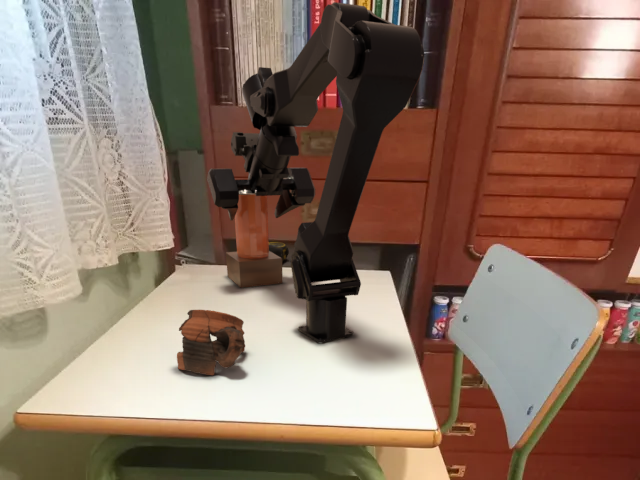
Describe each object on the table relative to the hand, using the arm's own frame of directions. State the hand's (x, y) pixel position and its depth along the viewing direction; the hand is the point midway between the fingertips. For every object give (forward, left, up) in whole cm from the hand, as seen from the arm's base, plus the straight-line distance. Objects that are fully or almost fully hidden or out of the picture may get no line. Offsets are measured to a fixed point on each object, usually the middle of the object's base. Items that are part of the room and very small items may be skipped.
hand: (253, 217), depth 93 cm
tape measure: (+13, -11, -13) cm, 21 cm away
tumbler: (+1, 0, -7) cm, 8 cm away
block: (+1, 0, -12) cm, 12 cm away
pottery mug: (-34, +23, -13) cm, 43 cm away
